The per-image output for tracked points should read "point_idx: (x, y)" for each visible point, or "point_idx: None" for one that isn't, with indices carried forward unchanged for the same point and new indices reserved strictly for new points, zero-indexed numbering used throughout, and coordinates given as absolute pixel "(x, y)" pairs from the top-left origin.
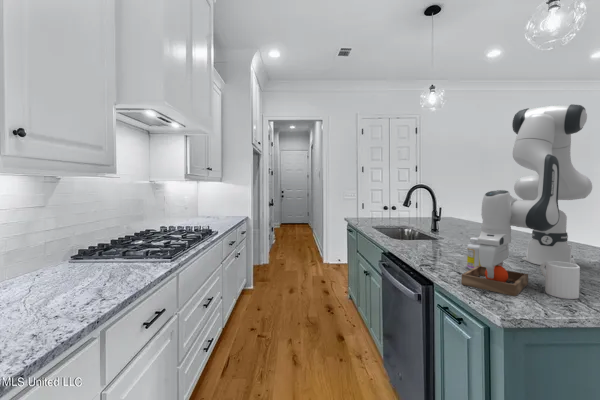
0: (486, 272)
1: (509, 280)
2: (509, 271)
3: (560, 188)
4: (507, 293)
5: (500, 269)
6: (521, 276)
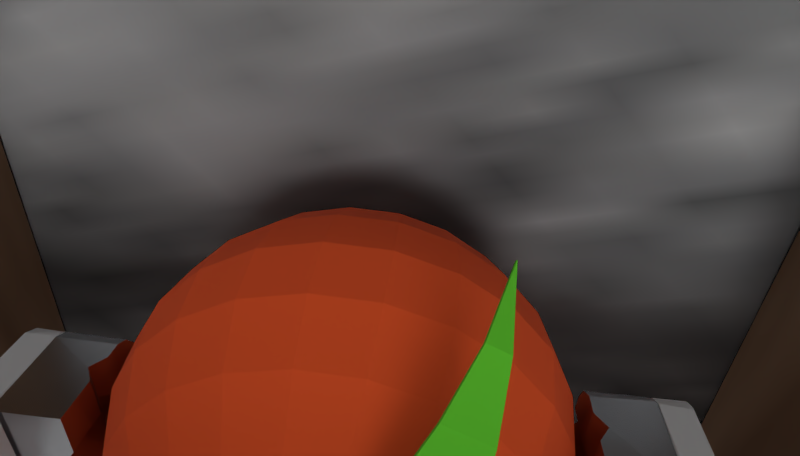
0: (160, 327)
1: (712, 414)
2: None
3: None
4: None
5: None
6: None
